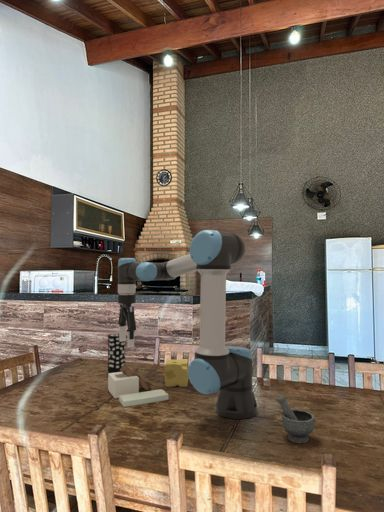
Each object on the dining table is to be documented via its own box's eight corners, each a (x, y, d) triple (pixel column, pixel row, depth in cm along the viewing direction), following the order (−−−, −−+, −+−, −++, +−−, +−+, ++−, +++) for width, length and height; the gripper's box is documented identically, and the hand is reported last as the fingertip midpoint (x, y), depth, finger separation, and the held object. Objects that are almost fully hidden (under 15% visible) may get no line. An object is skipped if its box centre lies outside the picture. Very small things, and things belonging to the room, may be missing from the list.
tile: (143, 387, 161) (148, 381, 161) (147, 390, 156) (151, 384, 157) (119, 369, 156) (123, 363, 157) (122, 372, 152) (126, 366, 153)
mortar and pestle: (317, 435, 113) (317, 396, 113) (312, 448, 104) (311, 406, 105) (281, 428, 118) (281, 390, 118) (273, 440, 110) (272, 399, 110)
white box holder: (130, 386, 162) (130, 370, 162) (138, 394, 151) (138, 377, 151) (108, 389, 157) (108, 373, 158) (114, 398, 147) (114, 380, 147)
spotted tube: (107, 374, 180) (107, 334, 181) (124, 373, 183) (124, 333, 184) (108, 379, 172) (108, 336, 173) (126, 377, 175) (126, 335, 176)
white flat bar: (168, 399, 145) (168, 394, 145) (123, 407, 137) (123, 401, 137) (161, 394, 152) (161, 389, 152) (119, 400, 144) (119, 395, 144)
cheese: (188, 387, 161) (187, 364, 161) (163, 387, 161) (163, 364, 161) (188, 380, 171) (188, 358, 171) (165, 380, 171) (165, 358, 172)
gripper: (144, 295, 147) (143, 349, 146) (127, 292, 169) (127, 338, 168) (125, 296, 144) (125, 350, 143) (111, 292, 166) (111, 339, 165)
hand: (126, 344), depth 156 cm, fingers open, 13 cm apart
